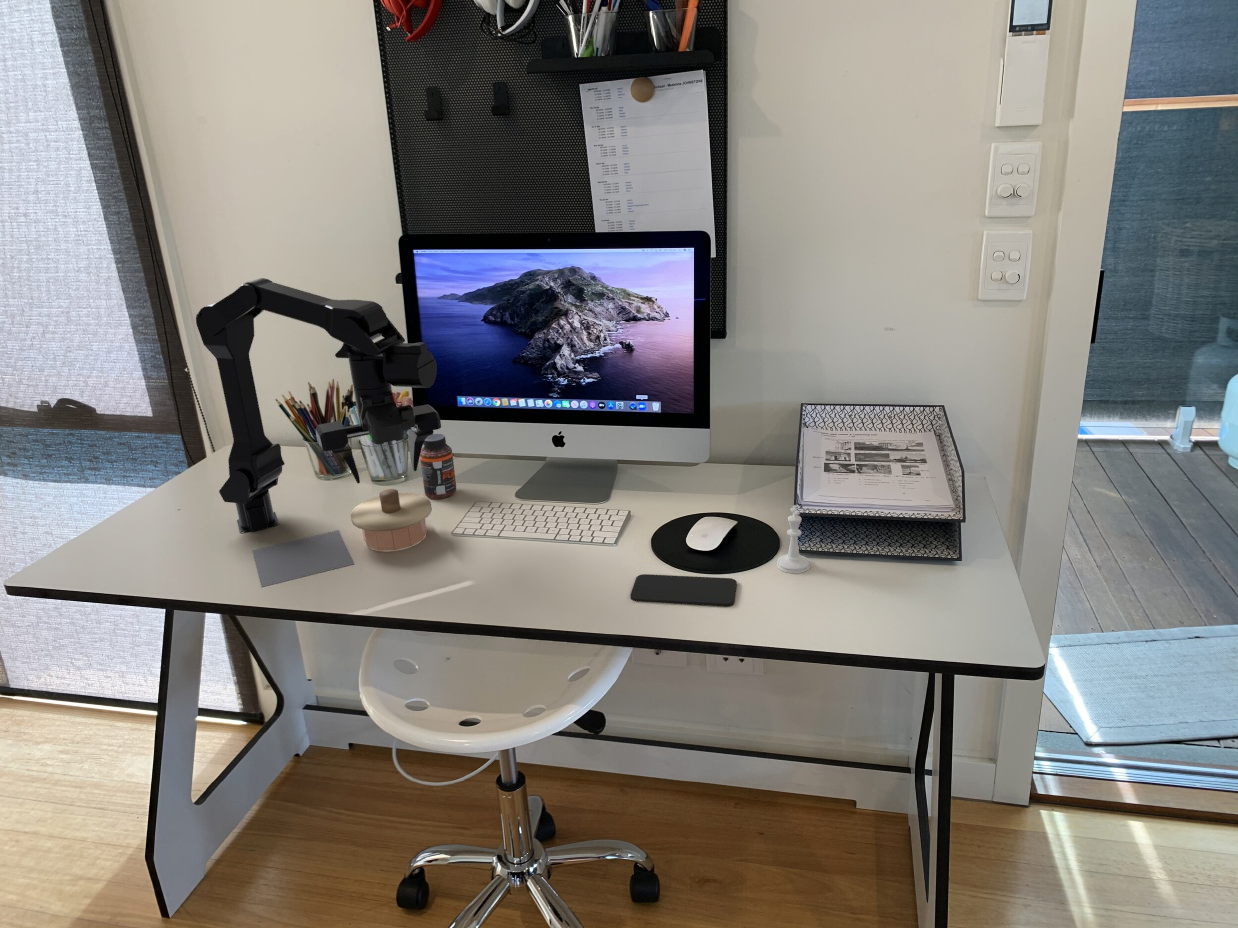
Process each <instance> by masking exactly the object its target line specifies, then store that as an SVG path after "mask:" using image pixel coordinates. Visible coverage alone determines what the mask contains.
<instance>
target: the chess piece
mask: <svg viewBox="0 0 1238 928" xmlns="http://www.w3.org/2000/svg"><path fill="white" fill-rule="evenodd" d="M789 510H790V512H791V513H792V514H791V515H789V516H788V517H787V520H788V523H789V527H790V528H789V529H787V531H786V534H787V535H788V536H790V539H789V540H790V541H789V547H788V552H787V553H786V554H783V555H781V556H779V558H778V559H777V563H776V567H777V568H778V570H780V571H782V572H784V573H788V574H801V573H804V572H806V571H808V570H809V569H811V568H810V567H811V564H810V560H809V559H808V558H807V557H806V556H804V555H801V554H800V551H799V550H800V549H799V539H798V537H800V536H801V535H802V530H800V529H799V527H800V524H801V522H802V517H801V516H800V514H801V511H800V510H799V509H798V506H797V504H794V505H793V506H792V507H790V509H789Z"/></svg>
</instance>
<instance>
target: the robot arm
mask: <svg viewBox="0 0 1238 928" xmlns="http://www.w3.org/2000/svg"><path fill="white" fill-rule="evenodd" d="M264 311H265V312H268V313H272V314H276V315H278V316H282V317H286V318H289V319H292V320H296V321H299V322H303V323H306V324H309V325H312V326H316V327H319V328H320V329H323V330H325V331H326V333H328V334H329V336H330V337H331V338H332V339H334V340H336V341H338V342H341V343H342V345H341V347H340V348H339V350H337V352H335V355H334V357H335V358H337V359H348V363H349V368H350V369H349V371H350V375H351V380H352V381H351V383H352V387H353V392H354V393H353V394H354V399H355V405H356V411H357V417H358V422H359V423H358V424H351V425H347V426H344V425H343V423H342V422H341V420H337V421H331V422H326V423H321V424H320V423H319V424H318V425H317V426H316V428H315V434H316V440H317V441H316V442H317V443H318V445H319V447H320V448H321V451H323V452H330V453H331V454H332V455H337V454H338V455H339V456H340V457H341V458H342V459H343V461H344V462H345V464H346V465H347V467H348V468H349V470H350V473H351V474H352V477H353V478H354V480H355V482H356V483H357V484H360V483H361V479H360V474H359V471H358V468H357V464H356V461H355V458H354V455H353V451H352V447H351V446H350V444H349V439H353V438H358V437H365V436H370V438H371V441H372V443H373V444H374V445H378V446H379V445H384V444H385V443H390V442H394V441H395V442H400V441H403V439H404V438H405V432H404V431H407V433H408V434H407V435H408V445H409V456H410V463H411V468H412V470H413V472H416V471H417V470H418V466H419V462H420V453H421V449H422V448H423V447H424V445H423V443H424V441H425V439H426V438H427V437H428V436H429V435H432V434H435V433H434V431H436V430H440V429H441V428H442V423H441V416H440V414H439V412H437V410H436V409H435V408H434V407H433V406H432V405H430V404H424V405H417V406H412V405H410V404H406V405H403V406H397V404H396V401H395V399H394V397H395V396H394V393H393V388H392V386H393V387H399V388H400V387H401V388H402V387H403V388H420V389H428V388H429V389H430V388H431V387H432V386H433V385H434V384H435V381H436V377H437V373H438V367H437V366H438V365H437V360H436V359H435V357H434V355H433V353H432V352H431V350H428V347H427V343H426V342H415V343H413V342H412V343H406V339H405V338H404V336H403V335H402V334H401V333H400V331H399V330H398V329H397V327H396V326H395V325H394V324H393V323H392V321H391V320H390V319H389V318H388V316H387V314H386V312H385V310H384V307H383V306H382V305H381V304H379V303H377V302H375V301H372V300H361V299H332V298H327V297H324V296H321V295H318V294H316V293H315V294H314V293H312V292H308V291H304V290H301V289H297V288H294V287H290V286H287V285H284V284H280V283H277V282H273V281H272V280H271V279H268V278H264V277H261V278H257V279H254V280H250V281H247V282H244V283H242V284H241V286H239V287H238V288H236V290H235V291H233V292H232V293H230V294H228V295H227V296H225V297H224V298H222V299H221V300H219V301H217V302H215V303H212V304H208V305H205V306H203V307H201V308H200V309H199V310H198V312H197V314H196V315H195V324H196V328H197V331H198V333H199V336H200V338H201V341H202V344H203V346H204V347H205V348H206V349H207V350H208V351H209V352H210V353H211V355H212V356H213V357H214V358H215V360H216V362H217V363H216V364H217V367H218V368H217V369H218V373H219V377H220V381H221V382H220V383H221V388H222V393H223V396H224V401H225V406H226V411H227V414H228V419H229V425H230V429H231V434H232V440H233V441H232V446H231V449H230V452H229V456H228V459H227V461H228V463H227V464H228V476H229V477H228V478H227V480H226V481H225V482H224V483H223V485H222V487H220V489H219V490H218V493H219V494H220V497H221V498H222V500H223V501H224V503H230V504H231V503H233V504H235V508H236V511H237V515H238V519H237V520H236V522H237V523H236V524H237V528H238V531H239V534H242V535H243V534H247V533H251V532H258V531H261V530H265V529H269V528H274V527H278V526H279V525H280V523H279V519H278V517H277V514H276V512H275V511H274V508H273V505H272V504H273V503H272V500H271V494H270V491H269V490H270V489H272V488H273V487H276V486H277V485H278V483H279V477H280V475H281V474H282V473H283V466H285V461H284V459H283V456H282V447H281V445H280V443H273V442H272V441H271V440H270V439H269V438H268V437H267V436H266V435H265V434H266V433H265V431H264V425H263V420H262V415H261V411H260V406H259V399H258V395H257V389H256V385H255V379H254V375H253V369H252V364H251V359H250V351H251V348H252V344H253V341H254V338H255V319H256V318H257V317H258V316H260V314H262V313H263V312H264ZM380 337H382V338H381V339H379V340H377V341H375V342H374V340H376V339H378V338H380Z"/></svg>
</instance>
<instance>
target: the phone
mask: <svg viewBox="0 0 1238 928" xmlns="http://www.w3.org/2000/svg"><path fill="white" fill-rule="evenodd" d="M737 586H738V582H737V579H734V578H732V577H731V578H730V577H714V576H713V577H712V576H711V577H710V576H690V575H672V574H671V575H669V574H652V573H651V574H650V573H649V574H646V573H645V574H638V575H637V576H636V577H635V580H634V583H633V586H632V589H631V590H630V591H631V592H630V597H629V598H630V600H632V601H634V602H636V603H637V602H639V603H656V604H671V605H672V604H673V605H691V606H701V607H702V606H703V607H704V606H708V607H721V608H722V607H724V608H727V607H732V606H734V605H735V602H736V597H737V596H736V595H737Z"/></svg>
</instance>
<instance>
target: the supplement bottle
mask: <svg viewBox="0 0 1238 928" xmlns="http://www.w3.org/2000/svg"><path fill="white" fill-rule="evenodd" d="M446 442H447V441H446V435H444V434H442V433H433V434H432V435H429V436H428V437H427V438H426V439H425V441H424V443H423V446H422V449H421V453H420V457H419V462H420V467H421V468H420V469H421V474H422V475H421V476H422V483H423V490H424V494H425V495H424V496H425V497H426V498H428V499H429V498H430V499H434V500H440V499H441V500H442V499H446V498H449V497H451V496H454V494H456V492H457V482H456V474H455V464H454V457H453V456H454V455H453V449H452V447H451V446H449V445H448V443H446Z"/></svg>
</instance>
